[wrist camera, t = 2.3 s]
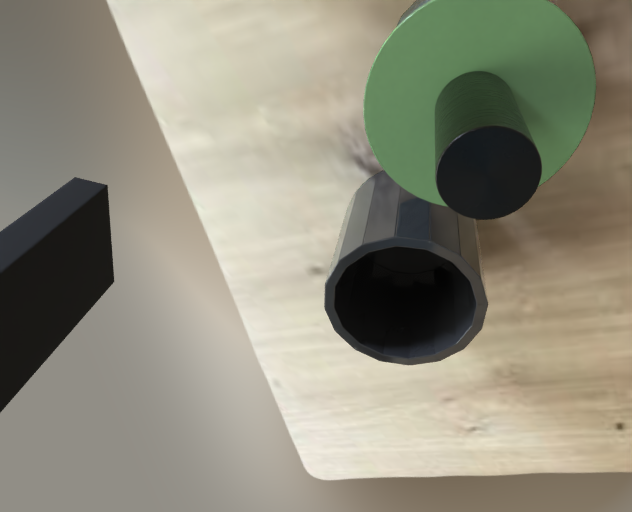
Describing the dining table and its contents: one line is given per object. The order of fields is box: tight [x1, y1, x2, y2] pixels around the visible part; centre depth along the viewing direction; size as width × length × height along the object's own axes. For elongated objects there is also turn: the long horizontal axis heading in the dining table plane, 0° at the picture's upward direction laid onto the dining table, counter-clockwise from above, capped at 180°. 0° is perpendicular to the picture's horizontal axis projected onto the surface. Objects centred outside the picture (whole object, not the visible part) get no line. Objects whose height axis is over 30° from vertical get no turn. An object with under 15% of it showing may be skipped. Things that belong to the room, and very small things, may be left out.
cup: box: [324, 170, 488, 365], centre depth 38 cm, size 10×10×11 cm
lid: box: [364, 0, 596, 220], centre depth 24 cm, size 12×12×10 cm
